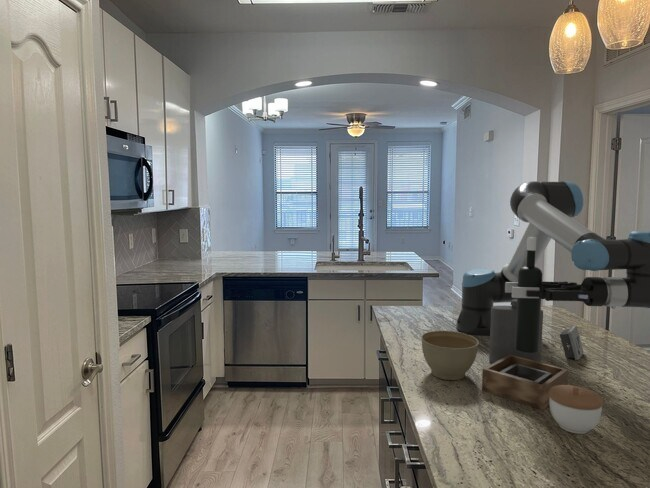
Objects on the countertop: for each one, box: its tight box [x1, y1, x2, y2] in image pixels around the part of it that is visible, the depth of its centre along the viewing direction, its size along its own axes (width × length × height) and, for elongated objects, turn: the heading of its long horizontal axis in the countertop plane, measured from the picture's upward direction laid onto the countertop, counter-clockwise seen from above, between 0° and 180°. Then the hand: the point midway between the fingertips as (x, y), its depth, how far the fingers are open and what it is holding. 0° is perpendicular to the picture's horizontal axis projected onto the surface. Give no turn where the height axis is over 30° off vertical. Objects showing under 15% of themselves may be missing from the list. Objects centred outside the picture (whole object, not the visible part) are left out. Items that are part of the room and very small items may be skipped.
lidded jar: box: [549, 384, 604, 435], centre depth 103 cm, size 11×11×9 cm
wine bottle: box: [515, 237, 543, 353], centre depth 120 cm, size 6×6×30 cm
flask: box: [488, 299, 544, 364], centre depth 142 cm, size 15×6×20 cm, turn 76°
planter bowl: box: [420, 330, 479, 381], centre depth 133 cm, size 16×16×11 cm
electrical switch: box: [559, 325, 584, 361], centre depth 149 cm, size 9×5×9 cm, turn 141°
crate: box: [481, 355, 569, 411], centre depth 123 cm, size 16×16×6 cm
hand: (508, 289), depth 120 cm, fingers closed on wine bottle, 6 cm apart
